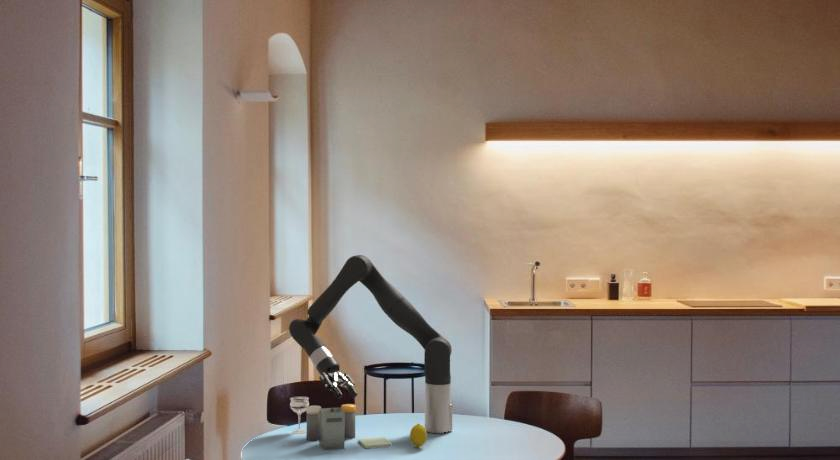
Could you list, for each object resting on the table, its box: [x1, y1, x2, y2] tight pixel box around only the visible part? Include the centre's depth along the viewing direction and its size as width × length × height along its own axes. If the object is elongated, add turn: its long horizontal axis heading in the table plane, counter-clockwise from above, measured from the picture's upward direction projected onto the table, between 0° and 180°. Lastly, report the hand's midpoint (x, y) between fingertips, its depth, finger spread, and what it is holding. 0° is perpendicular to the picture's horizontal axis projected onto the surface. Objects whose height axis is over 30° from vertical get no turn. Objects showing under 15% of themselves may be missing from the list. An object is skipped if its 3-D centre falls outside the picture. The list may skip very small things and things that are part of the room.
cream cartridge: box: [305, 405, 322, 442], centre depth 269 cm, size 5×5×11 cm
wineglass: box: [289, 396, 310, 435], centre depth 278 cm, size 7×7×12 cm
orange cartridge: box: [340, 403, 357, 440], centre depth 272 cm, size 5×5×11 cm
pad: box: [358, 436, 392, 449], centre depth 263 cm, size 9×9×1 cm
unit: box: [318, 407, 346, 451], centre depth 260 cm, size 7×8×13 cm
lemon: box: [409, 423, 428, 449], centre depth 259 cm, size 6×6×8 cm
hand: (348, 396), depth 275 cm, fingers open, 8 cm apart
